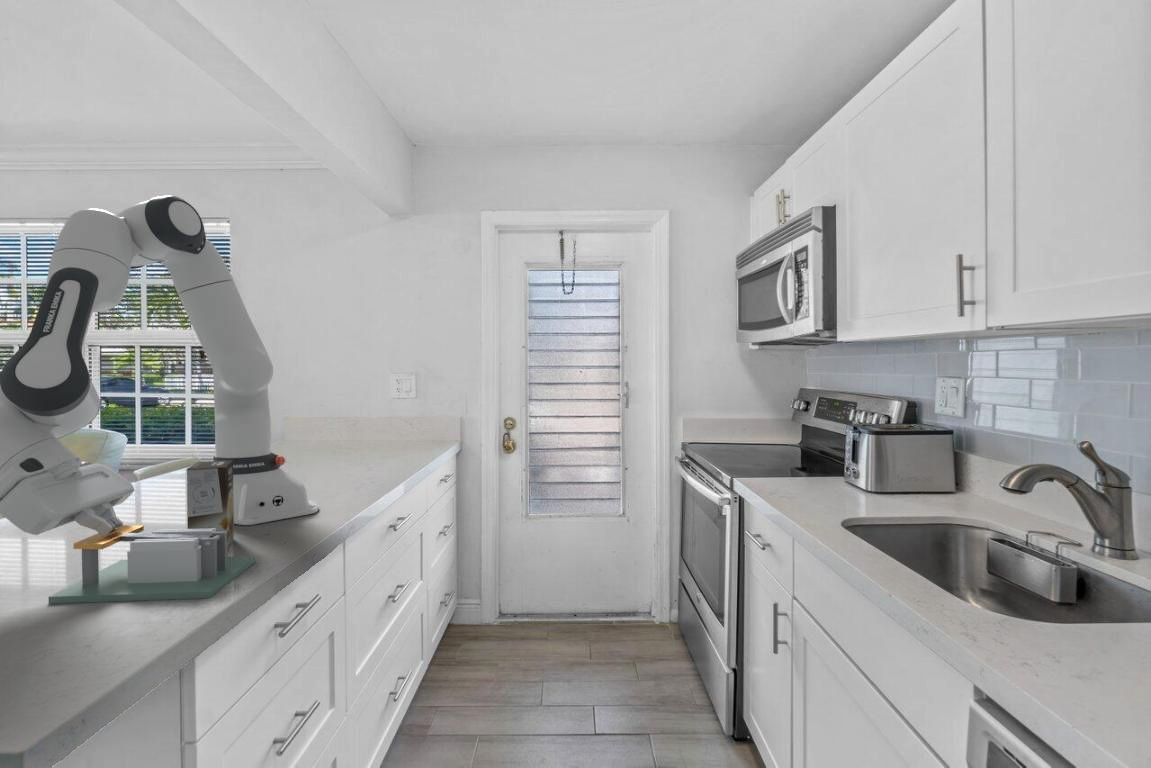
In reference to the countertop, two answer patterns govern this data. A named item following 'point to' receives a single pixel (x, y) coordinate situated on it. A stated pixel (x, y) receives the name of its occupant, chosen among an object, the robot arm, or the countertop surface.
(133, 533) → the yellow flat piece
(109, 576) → the heatsink board
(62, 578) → the countertop surface
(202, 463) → the coffee box
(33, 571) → the countertop surface
